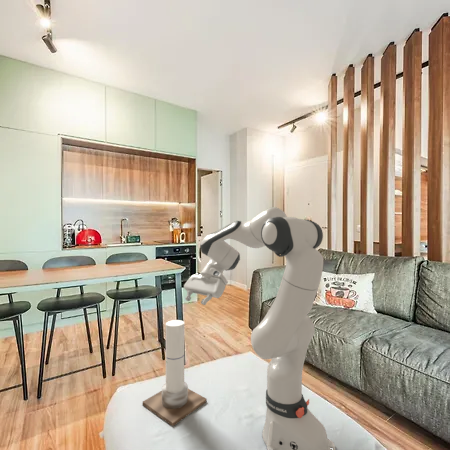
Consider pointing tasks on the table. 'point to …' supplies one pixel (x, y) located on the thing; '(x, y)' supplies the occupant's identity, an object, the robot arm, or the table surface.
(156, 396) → the base
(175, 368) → the cylindrical container
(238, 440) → the table surface
